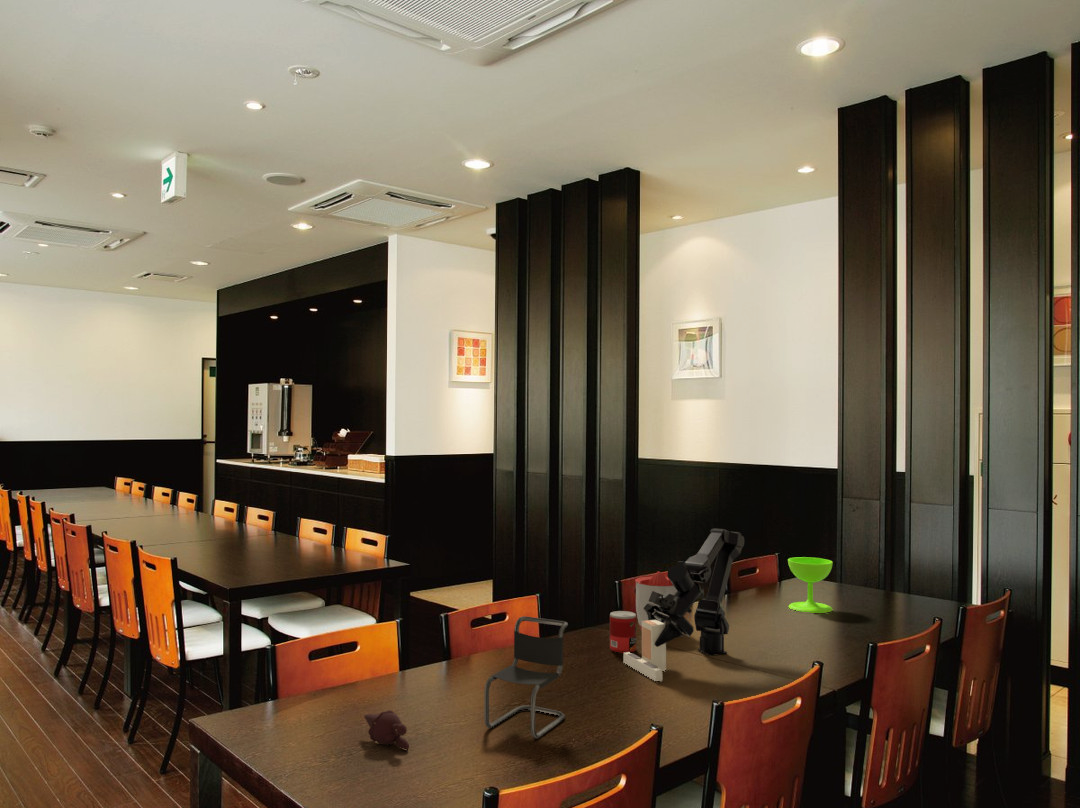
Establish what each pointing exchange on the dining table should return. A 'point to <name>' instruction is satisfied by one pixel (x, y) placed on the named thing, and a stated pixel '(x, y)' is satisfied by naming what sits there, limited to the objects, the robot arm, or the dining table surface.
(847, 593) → the dining table surface
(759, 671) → the dining table surface
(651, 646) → the carton
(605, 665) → the dining table surface
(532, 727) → the chair
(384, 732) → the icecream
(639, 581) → the citrus juicer
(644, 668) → the rail
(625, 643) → the canned food
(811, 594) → the wineglass
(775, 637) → the dining table surface
